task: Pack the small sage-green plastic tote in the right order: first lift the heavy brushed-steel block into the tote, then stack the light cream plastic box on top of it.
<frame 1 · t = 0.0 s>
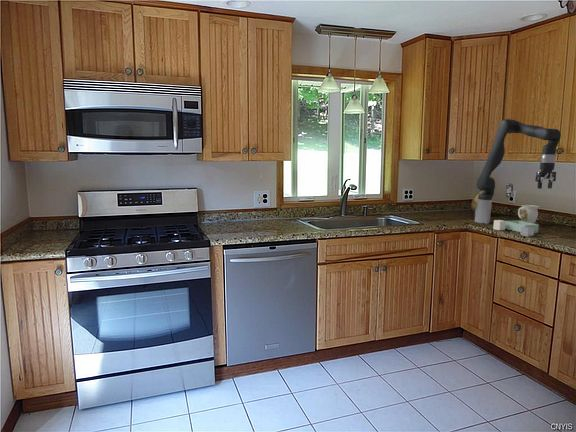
hand: (544, 188, 250), 29 cm above the worktop, tool pointing down, fingers open, 8 cm apart
ceramic jug: (481, 215, 334), on the worktop
tote: (520, 231, 267), on the worktop
pitcher: (526, 223, 298), on the worktop
steel block: (526, 235, 253), on the worktop
cream box: (499, 229, 271), on the worktop
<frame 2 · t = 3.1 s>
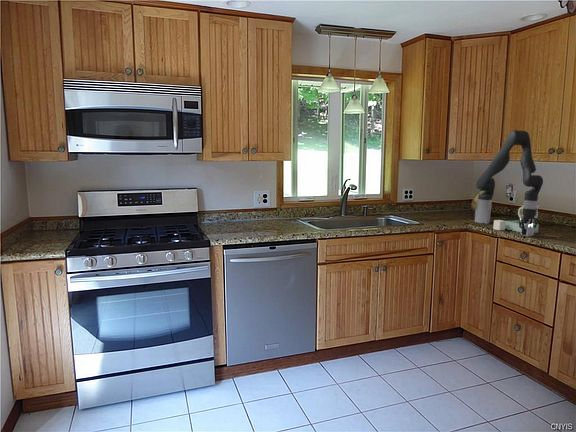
hand: (526, 234, 253), 1 cm above the worktop, tool pointing down, fingers closed on steel block, 5 cm apart
steel block: (526, 235, 253), on the worktop, touching gripper
everything else where it was.
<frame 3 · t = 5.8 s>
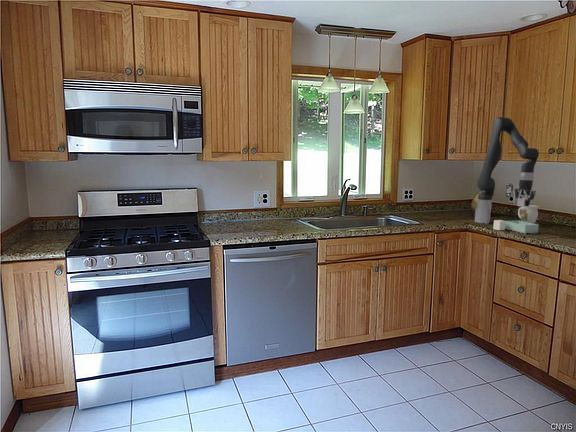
hand: (523, 205, 265), 17 cm above the worktop, tool pointing down, fingers closed on steel block, 5 cm apart
steel block: (523, 206, 265), point 17 cm above the worktop, touching gripper
everything else where it was.
when the fingers open (3 cm above the worktop, at t = 8.9 s): steel block drops 1 cm, resting on tote.
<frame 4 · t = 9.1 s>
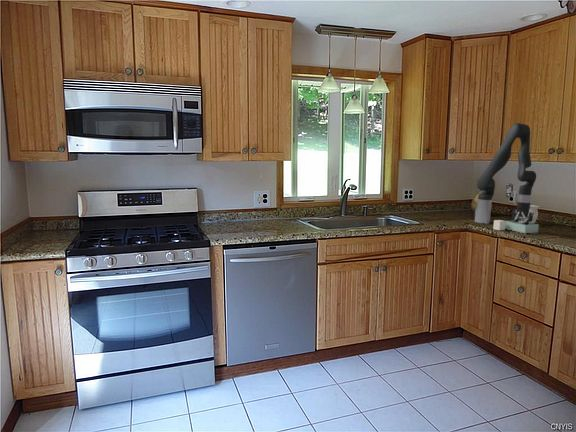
hand: (521, 226, 267), 3 cm above the worktop, tool pointing down, fingers open, 6 cm apart
steel block: (520, 229, 267), point 1 cm above the worktop, touching tote
everything else where it was.
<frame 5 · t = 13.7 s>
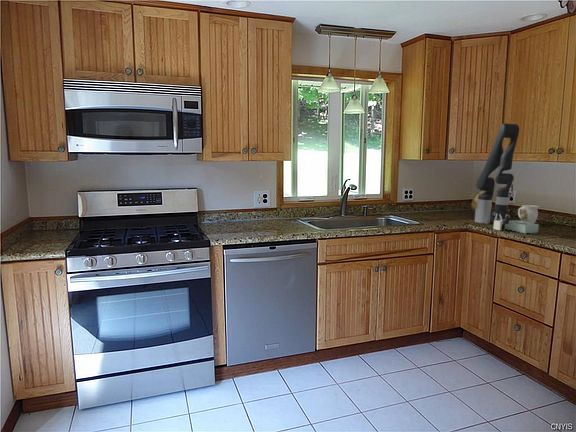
hand: (499, 228, 271), 0 cm above the worktop, tool pointing down, fingers closed on cream box, 5 cm apart
cream box: (499, 229, 271), on the worktop, touching gripper
everything else where it was.
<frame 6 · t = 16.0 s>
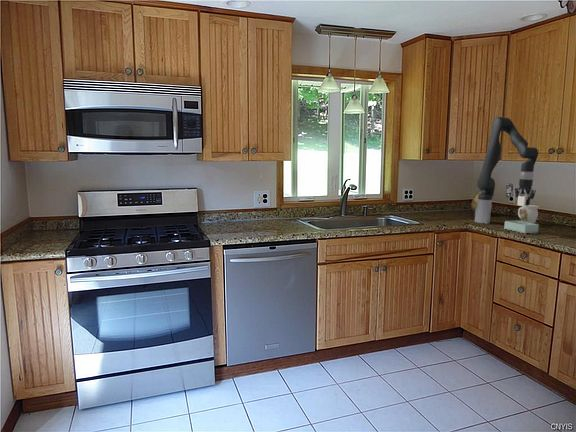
hand: (523, 204, 264), 18 cm above the worktop, tool pointing down, fingers closed on cream box, 5 cm apart
cream box: (523, 205, 264), point 17 cm above the worktop, touching gripper
everything else where it was.
when the fingers open (8 cm above the worktop, at t = 18.3 s): cream box drops 1 cm, resting on steel block.
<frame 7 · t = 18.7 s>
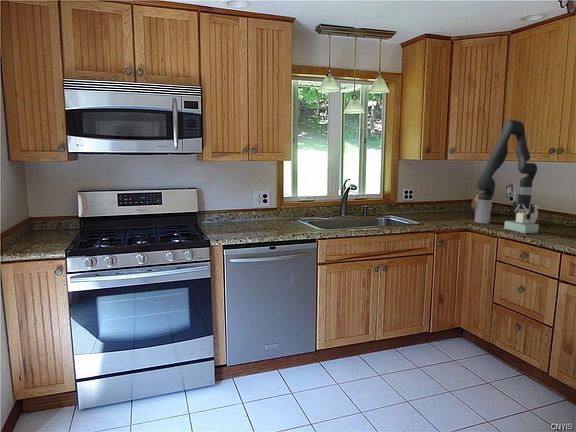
hand: (522, 218, 266), 8 cm above the worktop, tool pointing down, fingers open, 8 cm apart
steel block: (520, 229, 267), point 1 cm above the worktop, touching cream box, tote
cream box: (521, 222, 266), point 6 cm above the worktop, touching steel block
everything else where it was.
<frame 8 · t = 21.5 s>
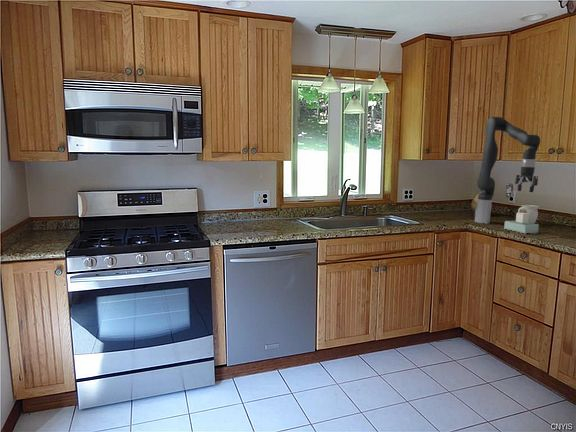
hand: (525, 191, 263), 26 cm above the worktop, tool pointing down, fingers open, 8 cm apart
nothing on the worktop moved.
at the end: steel block inside the target area on the tote (0.2 cm from its centre), point 0.8 cm above the tote's base; cream box 0.2 cm off-centre on the steel block, point 5.0 cm above the steel block's base; cream box tilted 0° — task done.
